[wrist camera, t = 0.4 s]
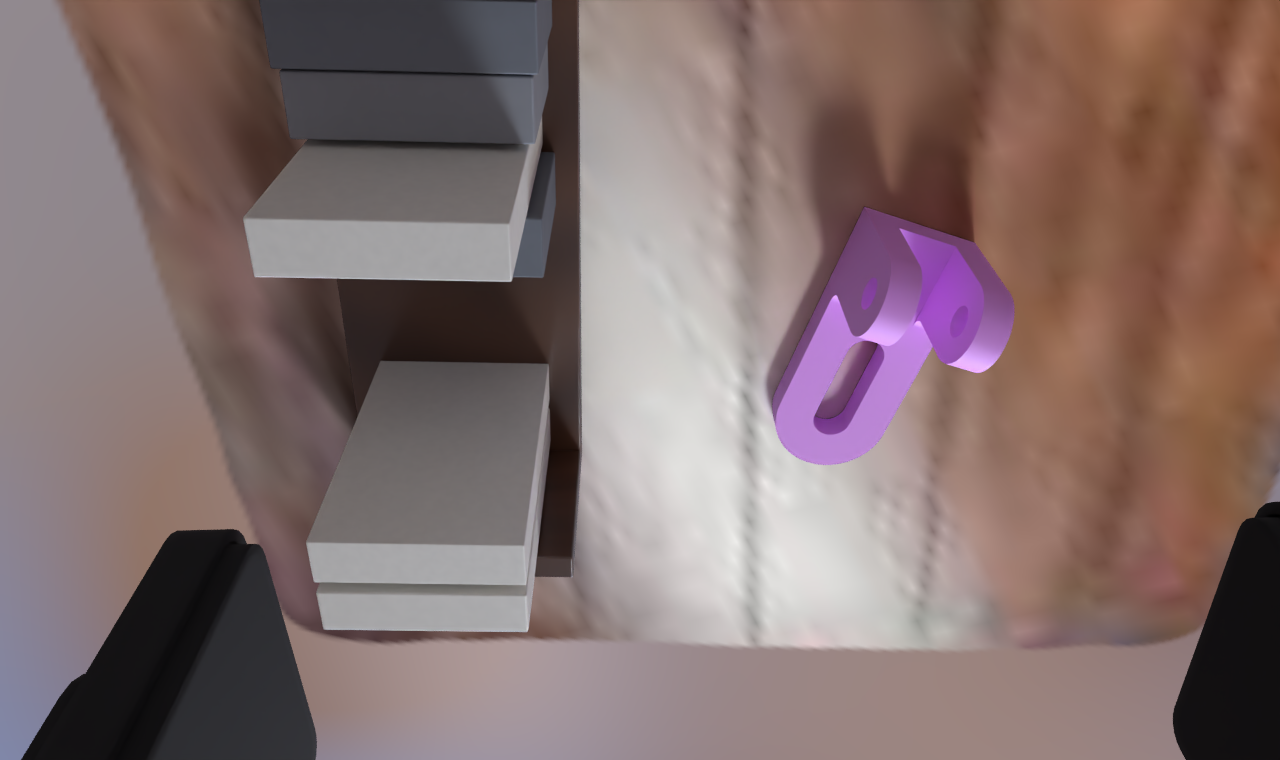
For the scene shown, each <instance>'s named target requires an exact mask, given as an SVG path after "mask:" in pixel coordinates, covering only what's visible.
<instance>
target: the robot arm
mask: <svg viewBox="0 0 1280 760" xmlns="http://www.w3.org/2000/svg"><path fill="white" fill-rule="evenodd" d="M1173 727H1174V733H1175V737H1176V740H1177V743H1178V745H1179V747H1180V750H1181V751H1182V754H1183V755H1184V757H1185V759H1186V760H1280V502H1271V503H1266V504H1265V505H1264V506H1262V507H1261V508H1260V509H1259V510H1258V512H1257V514H1256V516H1255V518H1249V519H1246V520H1245V521H1244V522H1243V523H1242V524H1241V526H1240V528H1239V530H1238V533H1237V535H1236V538H1235V541H1234V544H1233V546H1232V549H1231V552H1230V555H1229V558H1228V560H1227V563H1226V566H1225V569H1224V571H1223V574H1222V577H1221V580H1220V583H1219V585H1218V588H1217V591H1216V594H1215V596H1214V599H1213V602H1212V605H1211V608H1210V610H1209V613H1208V616H1207V619H1206V621H1205V624H1204V627H1203V630H1202V633H1201V635H1200V638H1199V641H1198V644H1197V646H1196V649H1195V652H1194V655H1193V658H1192V660H1191V663H1190V666H1189V669H1188V671H1187V675H1186V677H1185V680H1184V683H1183V685H1182V688H1181V691H1180V694H1179V696H1178V699H1177V702H1176V705H1175V708H1174V713H1173ZM316 748H317V741H316V732H315V727H314V724H313V720H312V717H311V713H310V710H309V707H308V703H307V700H306V696H305V693H304V689H303V686H302V682H301V679H300V675H299V671H298V668H297V664H296V661H295V658H294V654H293V650H292V647H291V644H290V640H289V637H288V633H287V630H286V626H285V623H284V619H283V616H282V612H281V609H280V605H279V602H278V598H277V595H276V591H275V588H274V584H273V581H272V577H271V574H270V570H269V567H268V563H267V560H266V556H265V554H264V551H263V549H262V548H261V546H260V545H258V544H247V543H246V541H245V538H244V536H243V535H242V534H241V533H240V532H239V531H238V530H234V529H225V530H190V531H189V530H188V531H187V530H186V531H176V532H174V533H172V534H171V535H170V536H169V537H168V538H167V540H166V541H165V542H164V544H163V545H162V547H161V549H160V550H159V552H158V554H157V555H156V557H155V559H154V561H153V562H152V564H151V566H150V567H149V569H148V570H147V572H146V574H145V576H144V577H143V579H142V580H141V582H140V584H139V585H138V587H137V589H136V591H135V592H134V594H133V596H132V597H131V599H130V601H129V602H128V604H127V606H126V607H125V609H124V610H123V612H122V614H121V616H120V617H119V619H118V620H117V622H116V624H115V625H114V627H113V629H112V630H111V632H110V634H109V635H108V637H107V639H106V640H105V642H104V644H103V645H102V647H101V649H100V650H99V652H98V654H97V656H96V657H95V659H94V660H93V662H92V664H91V666H90V667H89V669H88V670H87V672H86V674H83V675H81V676H80V677H78V678H77V679H75V680H74V681H72V682H71V683H70V684H69V686H68V687H67V688H66V689H65V691H64V692H63V693H62V695H61V696H60V697H59V699H58V700H57V702H56V704H55V705H54V707H53V709H52V710H51V712H50V714H49V715H48V717H47V718H46V720H45V722H44V723H43V725H42V726H41V729H40V730H39V731H38V733H37V735H36V736H35V738H34V740H33V741H32V743H31V744H30V746H29V748H28V750H27V751H26V753H25V754H24V756H23V758H22V759H21V760H315V759H316Z"/></svg>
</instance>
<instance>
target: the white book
mask: <svg viewBox="0 0 1280 760" xmlns="http://www.w3.org/2000/svg"><path fill="white" fill-rule="evenodd" d="M542 144H543V135H542V117H541V121H540V126H539V130H538V134H537V138H536V142H535V144H497V143H451V142H405V141H360V140H314V139H308V140H307V141H306V142H305V143H304V145H303V146H302V147H301V148H300V150H299V151H298V152H297V153H296V154H295V156H294V157H293V158H292V159H291V160H290V162H289V163H288V164H287V165H286V166H285V168H284V169H283V170H282V171H281V172H280V174H279V175H278V176H277V177H276V179H275V180H274V181H273V182H272V183H271V185H270V186H269V187H268V188H267V189H266V191H265V192H264V193H263V194H262V195H261V197H260V198H259V199H258V200H257V201H256V203H255V204H254V205H253V206H252V207H251V209H250V210H249V211H248V212H247V214H246V215H245V216H244V217H243V221H244V227H245V232H246V237H247V242H248V247H249V252H250V257H251V262H252V267H253V273H254V276H255V277H288V278H340V279H392V280H444V281H496V282H511V281H512V278H513V273H514V269H515V265H516V260H517V256H518V251H519V247H520V242H521V238H522V233H523V229H524V224H525V220H526V216H527V211H528V207H529V202H530V198H531V193H532V189H533V184H534V180H535V176H536V171H537V167H538V162H539V158H540V153H541V149H542Z"/></svg>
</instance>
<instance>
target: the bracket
mask: <svg viewBox="0 0 1280 760" xmlns="http://www.w3.org/2000/svg"><path fill="white" fill-rule="evenodd" d="M1013 321H1014V302H1013V298H1012V296H1011V294H1010V293H1009V291H1008V290H1007V288H1006V287H1005V285H1004V284H1003V282H1002V281H1001V280H1000V278H999V277H998V275H997V274H996V272H995V271H994V270H993V268H992V267H991V265H990V264H989V262H988V261H987V259H986V258H985V257H984V255H983V254H982V252H981V251H980V249H979V248H978V247H977V245H976V244H975V243H974V242H971V241H968V240H965V239H962V238H959V237H956V236H953V235H950V234H947V233H943V232H940V231H937V230H934V229H931V228H928V227H925V226H922V225H919V224H916V223H913V222H910V221H907V220H904V219H901V218H897V217H894V216H891V215H888V214H885V213H882V212H879V211H876V210H873V209H870V208H867V207H864V208H863V211H862V213H861V215H860V217H859V219H858V221H857V223H856V225H855V227H854V229H853V231H852V233H851V235H850V238H849V240H848V242H847V244H846V246H845V248H844V250H843V252H842V254H841V256H840V258H839V260H838V262H837V265H836V267H835V269H834V271H833V273H832V275H831V277H830V279H829V281H828V283H827V285H826V287H825V290H824V292H823V294H822V296H821V298H820V300H819V302H818V304H817V306H816V308H815V310H814V312H813V314H812V317H811V319H810V321H809V323H808V325H807V327H806V329H805V331H804V333H803V335H802V337H801V339H800V341H799V344H798V346H797V348H796V350H795V352H794V354H793V356H792V358H791V360H790V362H789V364H788V366H787V368H786V371H785V373H784V375H783V377H782V379H781V381H780V383H779V385H778V387H777V389H776V392H775V394H774V398H773V404H772V410H773V416H774V421H775V426H776V430H777V434H778V437H779V439H780V441H781V443H782V444H783V446H784V447H785V448H786V449H787V450H788V451H789V452H790V453H791V454H793V455H794V456H796V457H797V458H799V459H801V460H804V461H806V462H810V463H814V464H821V465H832V464H839V463H844V462H848V461H850V460H853V459H855V458H858V457H860V456H861V455H863V454H865V453H866V452H868V451H869V450H870V449H871V448H873V447H874V446H875V445H876V444H877V442H878V441H879V440H880V439H881V437H882V436H883V434H884V432H885V430H886V429H887V427H888V425H889V423H890V422H891V420H892V418H893V416H894V414H895V413H896V411H897V409H898V407H899V406H900V404H901V402H902V400H903V398H904V397H905V395H906V393H907V391H908V390H909V388H910V386H911V384H912V382H913V381H914V379H915V377H916V375H917V374H918V372H919V370H920V368H921V366H922V365H923V363H924V361H925V359H926V358H927V356H928V354H929V352H930V350H931V349H932V347H933V348H934V350H935V351H936V353H937V355H938V357H939V359H940V360H941V361H942V362H943V363H945V364H948V365H952V366H955V367H958V368H962V369H965V370H968V371H972V372H975V373H980V372H983V371H985V370H987V369H988V368H989V367H991V366H992V365H993V364H994V363H995V362H996V360H997V359H998V358H999V356H1000V355H1001V353H1002V352H1003V350H1004V348H1005V346H1006V344H1007V342H1008V339H1009V336H1010V333H1011V330H1012V326H1013ZM861 341H872V342H875V343H878V346H877V348H876V350H875V352H874V354H873V356H872V358H871V359H870V361H869V363H868V365H867V367H866V369H865V371H864V373H863V375H862V376H861V378H860V380H859V382H858V384H857V386H856V388H855V390H854V392H853V393H852V395H851V397H850V399H849V401H848V403H847V405H846V407H845V409H844V410H843V412H842V413H841V414H839V415H838V416H836V417H834V418H830V419H821V418H818V417H816V416H815V413H816V411H817V409H818V408H819V406H820V404H821V402H822V400H823V398H824V396H825V394H826V392H827V390H828V388H829V386H830V384H831V382H832V380H833V378H834V376H835V374H836V372H837V370H838V369H839V367H840V365H841V363H842V361H843V359H844V357H845V355H846V353H847V351H848V350H849V348H850V347H851V346H853V345H854V344H856V343H858V342H861Z"/></svg>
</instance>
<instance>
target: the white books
mask: <svg viewBox="0 0 1280 760" xmlns="http://www.w3.org/2000/svg"><path fill="white" fill-rule="evenodd" d="M549 398H550V397H549V365H548V364H530V363H473V362H416V361H380V363H379V366H378V368H377V371H376V373H375V375H374V378H373V380H372V383H371V385H370V388H369V390H368V393H367V395H366V397H365V400H364V402H363V405H362V407H361V410H360V412H359V414H358V417H357V419H356V422H355V424H354V427H353V429H352V432H351V434H350V436H349V439H348V441H347V444H346V446H345V449H344V451H343V453H342V456H341V458H340V461H339V463H338V466H337V468H336V471H335V473H334V475H333V478H332V480H331V483H330V485H329V488H328V490H327V493H326V495H325V497H324V500H323V502H322V505H321V507H320V510H319V512H318V514H317V517H316V519H315V522H314V524H313V527H312V529H311V532H310V534H309V536H308V539H307V541H306V544H307V550H308V555H309V560H310V565H311V570H312V575H313V580H314V582H320V584H319V587H318V589H317V592H316V594H317V599H318V604H319V609H320V614H321V619H322V624H323V629H330V630H409V631H489V632H527V631H528V629H529V620H530V612H531V603H532V595H533V586H534V578H535V569H536V560H537V552H538V543H539V535H540V526H541V518H542V509H543V501H544V492H545V483H546V475H547V466H548V458H549V449H550V441H551V437H550V409H549V408H548V406H549Z"/></svg>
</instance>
